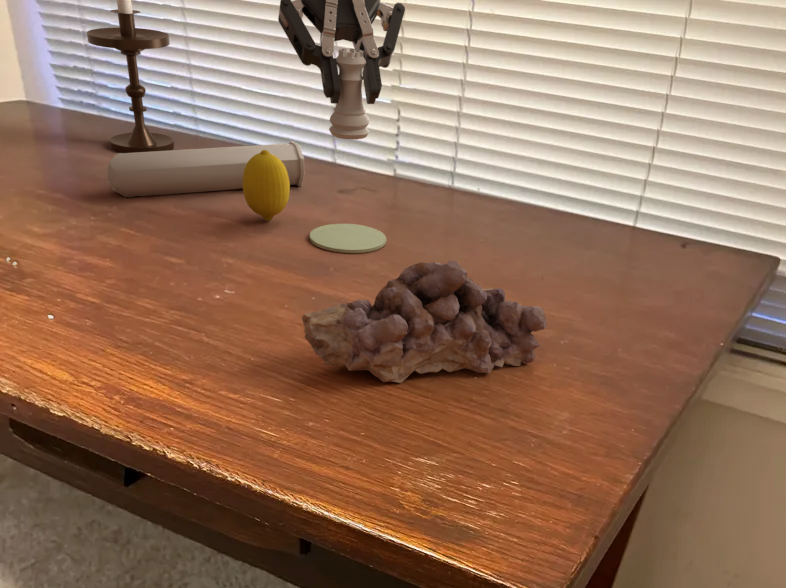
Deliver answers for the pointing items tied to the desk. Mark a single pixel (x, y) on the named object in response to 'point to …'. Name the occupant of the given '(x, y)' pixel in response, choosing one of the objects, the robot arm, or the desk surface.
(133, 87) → the candlestick
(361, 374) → the desk surface
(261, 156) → the lemon
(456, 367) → the mineral specimen
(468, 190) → the desk surface
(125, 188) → the tube
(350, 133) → the rook chess piece
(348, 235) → the coaster
